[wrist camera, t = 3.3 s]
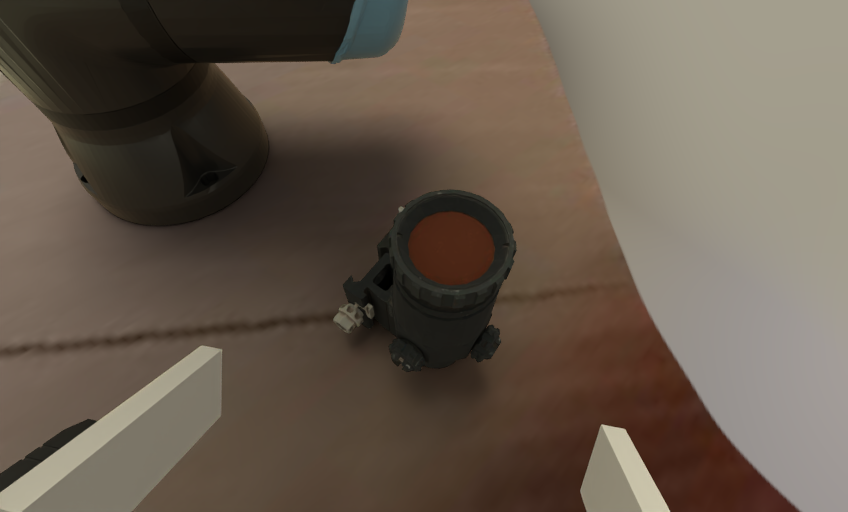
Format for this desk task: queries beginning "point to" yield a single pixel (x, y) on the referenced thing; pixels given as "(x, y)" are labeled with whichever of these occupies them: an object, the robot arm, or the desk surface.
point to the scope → (436, 280)
